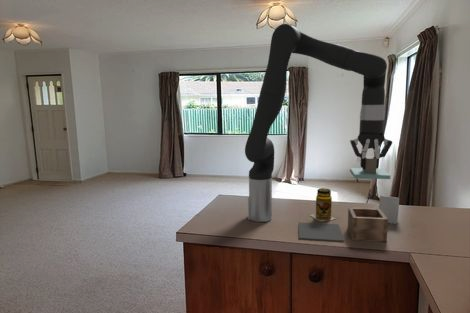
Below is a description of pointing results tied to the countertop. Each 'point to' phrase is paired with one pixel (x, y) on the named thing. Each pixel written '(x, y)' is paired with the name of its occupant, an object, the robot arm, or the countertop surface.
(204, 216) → the countertop surface
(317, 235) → the mat
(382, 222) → the storage box
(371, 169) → the lid
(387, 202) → the grey rectangular block
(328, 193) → the condiment
